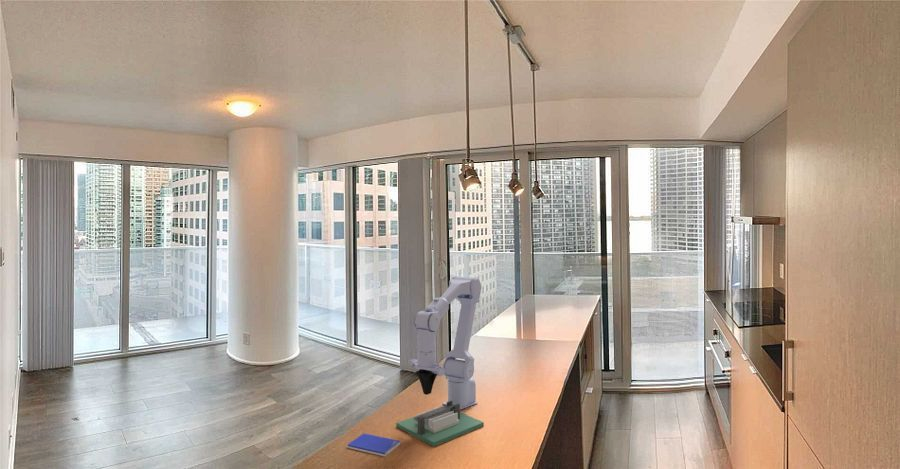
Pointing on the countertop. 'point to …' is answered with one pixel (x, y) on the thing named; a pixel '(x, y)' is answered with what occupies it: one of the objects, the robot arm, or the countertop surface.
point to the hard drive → (374, 444)
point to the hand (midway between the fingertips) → (427, 393)
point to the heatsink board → (440, 425)
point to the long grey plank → (436, 412)
